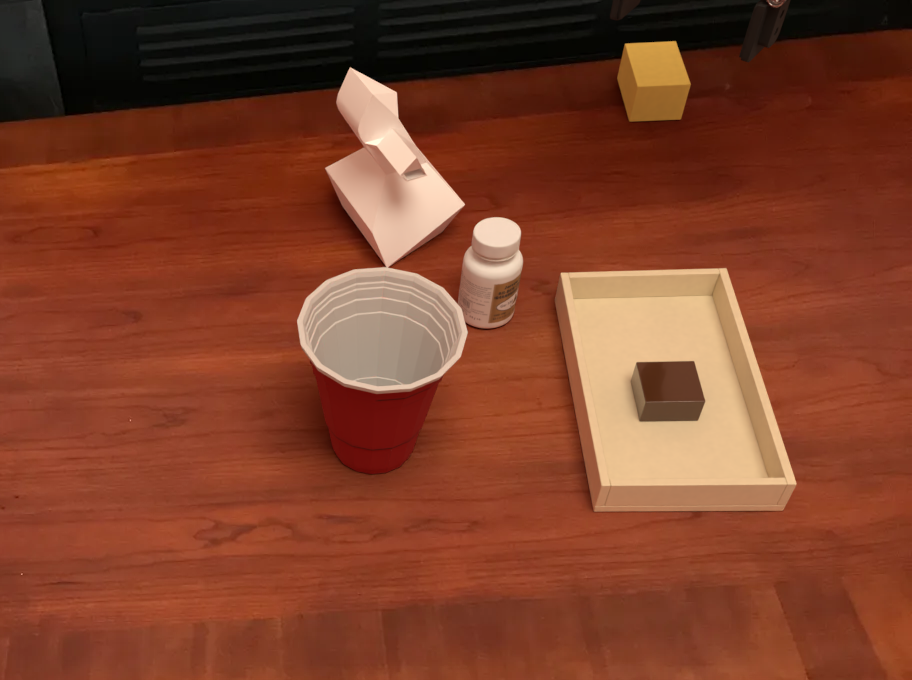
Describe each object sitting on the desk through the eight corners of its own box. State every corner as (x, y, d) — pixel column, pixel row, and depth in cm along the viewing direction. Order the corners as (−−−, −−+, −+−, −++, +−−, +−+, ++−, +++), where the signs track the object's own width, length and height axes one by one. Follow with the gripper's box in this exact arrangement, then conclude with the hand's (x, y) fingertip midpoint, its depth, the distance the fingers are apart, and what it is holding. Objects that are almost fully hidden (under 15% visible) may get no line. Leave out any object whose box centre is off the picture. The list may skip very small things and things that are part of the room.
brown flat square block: (687, 380, 83) (694, 360, 81) (698, 421, 80) (706, 401, 79) (630, 381, 83) (636, 361, 81) (639, 422, 81) (645, 402, 79)
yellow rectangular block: (666, 76, 106) (676, 40, 104) (681, 119, 102) (691, 84, 99) (616, 78, 107) (624, 43, 104) (629, 122, 103) (637, 86, 100)
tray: (716, 296, 88) (726, 267, 86) (783, 511, 76) (797, 484, 73) (554, 300, 90) (560, 272, 88) (593, 512, 77) (601, 485, 75)
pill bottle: (503, 336, 88) (516, 256, 82) (448, 321, 89) (458, 241, 83) (521, 301, 90) (536, 220, 84) (468, 287, 92) (479, 206, 85)
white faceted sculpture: (398, 160, 102) (407, 12, 91) (473, 251, 94) (492, 100, 83) (311, 186, 101) (310, 39, 90) (378, 281, 93) (386, 131, 82)
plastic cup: (369, 530, 78) (376, 409, 68) (269, 441, 84) (262, 318, 74) (484, 451, 81) (505, 325, 72) (380, 370, 87) (387, 243, 77)
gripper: (942, -244, 64) (833, 44, 78) (657, -294, 72) (603, -25, 86) (885, -195, 61) (782, 96, 75) (595, -253, 69) (549, 20, 83)
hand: (687, 31), depth 80 cm, fingers open, 9 cm apart
